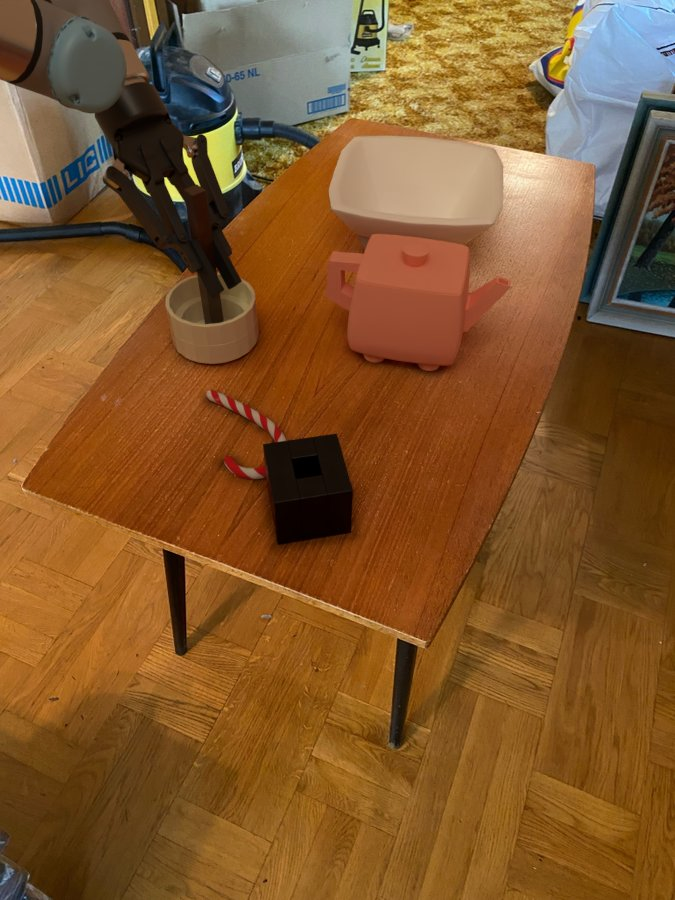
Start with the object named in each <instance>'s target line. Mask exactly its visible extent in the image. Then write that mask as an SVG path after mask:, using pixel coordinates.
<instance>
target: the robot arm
mask: <svg viewBox="0 0 675 900" xmlns="http://www.w3.org/2000/svg"><path fill="white" fill-rule="evenodd" d="M0 81H2V82H6V83H8V84H9V85H13V86H15V87H18V88H20V89H24V90H27V91H30V92H33V93H36V94H38V95H41V96H44V97H47V98H49V99H52V100H54V101H57V102H58V103H59V104H60V105H62V106H63V107H65V108H68V109H72V110H77V111H79V112H81V113H83V114H84V113H85V114H94V118H95V121H96V123H97V124H98V126H99V128H100V129H101V131H102V133H103V135H104V137H105V138H106V140H107V143H108V144H109V146H111V148H112V152H113V160H114V162H113V163H112V165H109V166H107V168H106V170H105V172H104V174H103V176H102V182H103V184H104V185H105V186H107V188H109V189H110V190H112V191H113V192H114V193H116V194H117V195H118V196H119V197H120V198H121V200H122V201H123V203H124V204H125V206H127V208H128V210H129V211H130V212H131V214H132V215H133V216H134V217H135V219H136V220H137V221H138V223H139V225H140V226H141V227H142V229H143V230H144V232H146V234H147V236H148V237H149V238H150V239H151V241H152V242H153V243H154V244H155V246H156V247H157V248H158V249H159V250H165V249H172V250H173V251H175V252H178V254H179V256H180V257H181V260H182V261H183V263H184V264H185V265H184V266H185V267H186V269H187V270H188V272H189V273H191V274H192V275H193V274H195V273H196V274H197V273H198V274H199V276H200V278H201V280H202V282H203V284H204V285H205V287H206V289H207V291H208V293H209V294H210V296H211V298H213V297H215V296H217V295H218V294H220V293H221V292H222V291H223V290H224V288H223V286H222V284H221V282H220V280H219V279H218V277H217V275H216V273H215V271H214V269H213V268H212V266H211V264H210V262H209V260H208V258H207V256H206V255H205V253H204V251H203V249H202V247H201V245H200V244H199V242H198V240H197V238H195V239H192V240H191V239H190V240H189V233H188V232H187V229H186V228H185V224H184V222H183V221H182V219H181V216H180V214H179V212H178V210H177V208H176V206H175V202H174V200H173V198H172V196H171V193H170V191H169V189H168V187H167V185H166V180H165V178H166V179H167V180H168V183H170V185H172V186H173V187H174V188H175V189H176V191H177V193H178V194H179V195H180V198H182V200H183V202H184V203H185V197H184V189H186V188H189V187H191V186H194V185H196V182H195V180H194V179H193V178H192V176H191V175H190V173H189V168H188V166H187V164H186V163H185V161H184V160H183V152H184V150H185V152H186V153H185V154H186V156H187V157H188V158H189V159H191V165H192V169H193V171H194V173H195V176H196V179H197V181H198V184H199V186H200V187H202V188H203V189H205V190H206V194H207V202H208V209H209V216H210V224H211V231H212V238H213V246H214V253H215V261H216V268H217V272H218V273H220V275H221V277H222V278H223V280H224V282H225V284H226V286H227V288H228V289H229V290H230V289H232V288H234V287H235V286H236V285H238V284H239V283H240V282H242V280H241V279H240V278H241V277H240V275H239V273H238V271H237V269H236V267H235V265H234V264H233V262H232V260H231V258H230V256H231V255H233V249H232V247H231V245H230V243H229V242H228V239H227V237H226V235H225V234H224V232H223V230H222V225H223V223H225V222H226V220H227V219H228V218H229V217H230V215H231V213H230V210H229V207H228V204H227V202H226V199H225V196H224V194H223V191H222V188H221V185H220V183H219V181H218V178H217V175H216V172H215V170H214V167H213V164H212V162H211V160H210V156H209V154H208V152H209V151H208V139H207V136H206V135H204V134H202V133H200V134H198V135H197V136H196V137H194V136H189V135H185V134H183V132H182V130H181V129H180V128H179V127H177V126H176V125H175V123H174V122H173V121H172V119H171V116H170V113H169V111H168V109H167V107H166V105H165V103H164V101H163V100H162V98H161V96H160V94H159V91H158V90H157V88H156V86H155V85H154V84H152V83H150V82H151V77H150V75H149V73H148V71H147V69H146V67H145V65H144V64H143V62H142V60H141V58H140V56H139V55H138V53H137V51H136V49H135V47H134V45H133V44H132V42H131V40H130V38H129V36H128V35H127V32H126V31H125V28H124V27H123V24H122V23H121V21H120V19H119V17H118V15H117V13H116V11H115V9H114V7H113V5H112V3H111V1H110V0H0ZM129 173H130V174H132V175H134V176H135V177H136V178H138V179H139V180H140V181H141V182H142V184H143V186H144V189H145V191H146V193H147V194H148V195H149V196H150V199H151V201H152V203H153V205H154V207H155V210H156V211H157V213H156V212H155V211H154V209H153V208H152V206H151V205H150V203H149V202H148V201H147V199H146V198H145V196H144V195H143V194H142V192H141V191H140V190H139V188H138V187H137V186H136V185H135V183H134V182H133V181H132V180H131V178H129ZM157 214H158V215H157Z"/></svg>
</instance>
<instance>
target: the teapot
mask: <svg viewBox="0 0 675 900" xmlns="http://www.w3.org/2000/svg"><path fill="white" fill-rule="evenodd" d="M470 256H471V255H470V247H469V246H467V245H466V244H465V245H461V244H456V243H451V242H445V241H439V240H432V239H426V238H418V237H409V236H400V235H389V234H373V235H372V236H371V237H370V239H369V241H368V244H367V246H366V249H365V251H364V252H363V253H358V252H345V251H334V250H333V251H332V253H331V255H330V257H329V259H328V266H327V277H326V290H325V298H326V299H328V300H329V301H331V302H332V303H335V304H336V305H338V306H340V307H341V308H343V309H345V310H346V311H348V318H347V343H348V346H349V349H350V350H351V351H353V352H356V353H358V354H362V355H363V357H364V359H365V360H366V361H368V362H371V363H381V362H383V361H384V360H385V359H386V360H391V361H398V362H405V363H411V364H412V363H413V364H417V365H418V367H419V368H420V369H421V370H423V371H426V372H428V371H429V372H432V371H436V370H438V369H439V368H440V366H452V365H453V364H454V362H455V360H456V358H457V355H458V353H459V351H460V346H461V343H462V338H463V335H464V333H467V332H468V331H469V330H470V329H471V328H472V327H473V326H474V325H475V324H476V323H477V322H478V321H479V320H480V319H481V318H482V317H483V316H484V315H485V314H486V313H487V312H488V311H489V310H490V309H491V308H492V307H493V306H494V305H495V304H496V303H498V301H499V300H500V299H501V298H502V297H503V296H504V295H505V294H506V293H507V292H509V290H510V289H511V283H512V279H508V278H505V277H503V276H499V275H496V276H495V277H494V278H493V279H491V280H490V281H487V283H485V284H483V285H481V286H480V287H478V288H477V289H475V290H473V291H472V292H469V291H470V290H469V289H470V274H471V272H470V270H471V267H470V266H471V265H470V264H471V260H470V259H471V258H470ZM346 272H350V273H355V274H356V277H355V281H354V286H353V285H351V284H350V283H348V282H346Z"/></svg>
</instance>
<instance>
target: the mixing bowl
mask: <svg viewBox="0 0 675 900" xmlns="http://www.w3.org/2000/svg"><path fill="white" fill-rule="evenodd" d="M217 275H218V279H219V280H220V282H221V284H222V286H223V288H224V290H223V291H222V292H221V293H220V297H221V304H222V312H223V319H224V322H221V323H214V324H205V320H204V314H203V308H202V302H201V296H200V289H199V283H198V277H197V274H195V275H190V276H188V277H186V278H184V279H182V280H180V281H178V282H177V283H176V284H174V286H172V287H171V288H170V289H169V291H168V292H167V295H166V296H165V301H164V302H165V310H166V316H167V321H168V325H169V331H170V336H171V339H172V344H173V346H174V348H175V350H176V351H177V353H178V354H180V355H181V356H182V357H184V358H185V359H186V360H190V361H192V362H196V363H199V364H208V365H216V364H225V363H228V362H232V361H234V360H237V359H240V358H241V357H243V356H245V355H246V354H248V353H249V352H250V351H251V350H252V349H253V348H254V347H255V346H256V345H257V342H258V339H259V336H260V332H259V321H258V320H259V319H258V310H257V299H256V292H255V289H254V288H253V287H252V285H251V283H250V282H249V281H246V280H245V279H244V278H242V277H240V279H241V280H242V282H240V283H239V284H238V285H236V286H235V287H234V288H232V289H230V290H229V289H228V288H227V286H226V284H225V282H224V280H223V278H222V277H221V275H220V273H219V272H217Z"/></svg>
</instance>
